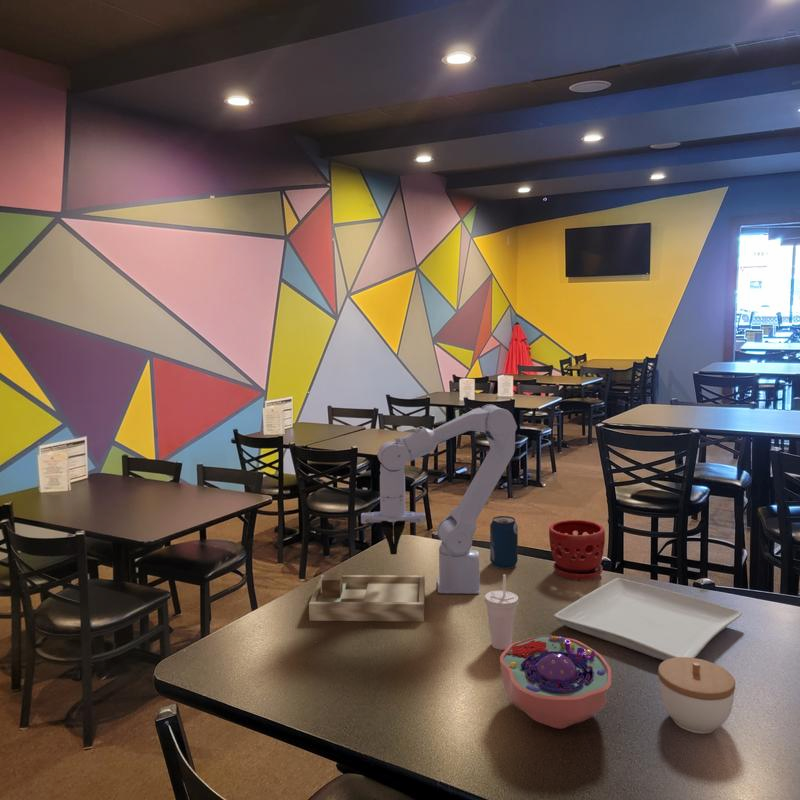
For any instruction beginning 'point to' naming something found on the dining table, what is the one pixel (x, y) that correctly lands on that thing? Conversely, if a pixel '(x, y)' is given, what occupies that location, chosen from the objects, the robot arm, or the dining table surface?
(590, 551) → the plant pot
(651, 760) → the dining table surface
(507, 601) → the smoothie
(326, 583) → the walnut block
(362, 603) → the box
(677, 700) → the lidded jar
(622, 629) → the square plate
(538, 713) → the cell model
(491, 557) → the soda can
